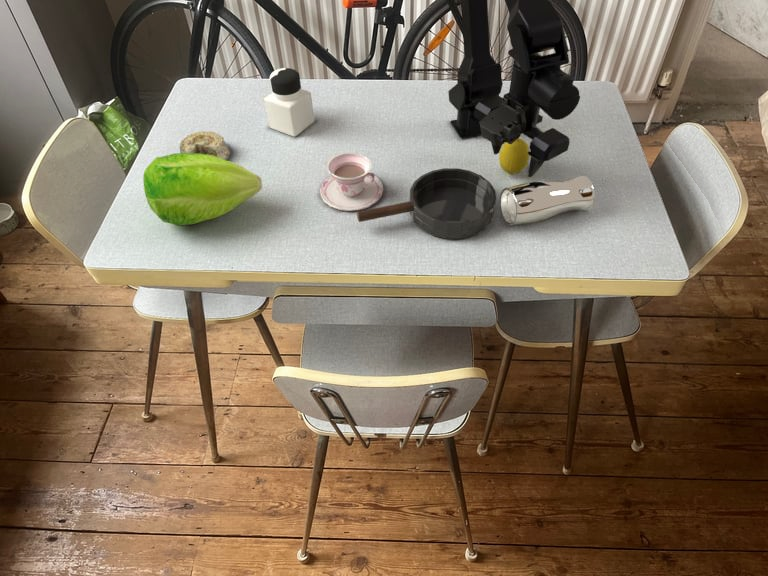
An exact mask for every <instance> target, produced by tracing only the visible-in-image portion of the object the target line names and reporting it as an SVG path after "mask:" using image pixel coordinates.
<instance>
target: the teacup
mask: <svg viewBox="0 0 768 576" xmlns="http://www.w3.org/2000/svg"><path fill="white" fill-rule="evenodd" d="M325 168H326V170H327V172H328V173H329V176H328V177H327V178H326V179H325V180H324V181H323V182H322V184H321V186H320V188H319V189H320V190H319V191H320V192H319V193H320V197H321V199H322V201H323V202H324V203H325V204H326V205H327V206H329V207H331V208H332V209H335V210H338V211H345V212H356V211H363V210H366V209H367V208H370V207H371V206H373V205H375V204H377V202H378V201H380V199H382V196H383V194H384V185H383V182H382V181H381V180H380V178H379V177H378V176H376V174H375V173H373V172H371V171H372V168H373V164H372V161H371V160H370V159H369V158H368V157H367V156H365V155H363V154H360V153H356V152H343V153H342V152H341V153H337V154H335V155H333V156H331V157H330V158H328V159H327V161H326V164H325Z"/></svg>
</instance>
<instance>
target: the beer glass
mask: <svg viewBox="0 0 768 576" xmlns="http://www.w3.org/2000/svg"><path fill="white" fill-rule="evenodd" d="M594 202H595V189H594V186H593V183H592V181H591V180H590V179H589V177H588V176H585V175H580V176H576V177H573V178H572V179H568V180H564V181H531V182H525V183H520V184H515V185H512V186H508V187H504V188H503V189H502V190H501V192H500V196H499V209H500V213H501V216H502V218H503V221H504V222H505V223H506V224H507V225H508V226H516V225H524V224H531V223H532V224H533V223H537V222H541V221H544V220H547V219H550V218H553V217H555V216H558V215H561V214H563V213H565V212H570V211H587V210H590V209H591V208H592V206H593V204H594Z"/></svg>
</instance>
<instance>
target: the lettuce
mask: <svg viewBox="0 0 768 576" xmlns="http://www.w3.org/2000/svg"><path fill="white" fill-rule="evenodd" d="M142 177H143V189H144V195H145V198H146V202H147V204H148V206H149V208H150V209H151V211H152V212H153V213H154V214H155V215H156V216H157V217H158V218H159V219H160V220H161V221H162V222H163V223H166V224H169V225H174V226H189V225H196V224H198V223H202V222H204V221H205V222H206V221H208V220H212V219H218V218H220V217H221V216H223V215H225V214H228V213H229V212H230V211H232V210H234V209H236V208H237V207H239V206H240V205H242V204H243V203H244V202H245V201H247V200H249V199H250V198H252V197H253V196H255V195H256V194H258V193H259V192H260V191H261V190H262V189H263V181H262V177H260V176H259V175H258V174H256V173H255V172H252V171H250V170H248V169H247V168H245V167H244V166H242V165H240V164H237V163H235V162H232V161H229V160H228V159H226V160H224V159H221V158H218V157H216V156H213V155H207V154H195V153H181V152H180V153H179V152H178V153H171V154H167V155H163V156H156V157H155V158H154V159H153V160H152V161H151V162H150V163H149V164H148V166H146V168H145V169H144V171H143V176H142Z"/></svg>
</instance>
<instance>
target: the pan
mask: <svg viewBox="0 0 768 576" xmlns="http://www.w3.org/2000/svg"><path fill="white" fill-rule="evenodd" d="M409 201H413V203H414V204H413V211H411V212H409V215H410V217H411V220H412V222H413V223H414V224H415V225H416V226H417V227H418V228H419V229H420V230H422V231H423V232H426V233H427V234H429V235H431V236H433V237H437V238H442V239H448V240H457V239H458V240H459V239H461V240H462V239H465V238H470V237H473V236H476V235H478V234H480V233H481V232H483V231H485V230H486V229H487V228H488V226H490V225H491V224H492V222H493V218H494V216H495V211H496V205H497V201H498V200H497V192H496V189H495V188H494V186H493V185H492V183H491V181H489V180H488V179H486V178H485V177H484V176H482V175H481V174H479V173H476V172H474V171H471V170H467V169H463V168H457V167H456V168H455V167H453V168H452V167H446V168H445V167H444V168H439V169H433V170H431V171H428V172H426V173H424V174H422V175H420V176H419V177H418V178H416V180H415V181H414V182H413V184H412V185H411V187H410V189H409Z"/></svg>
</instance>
